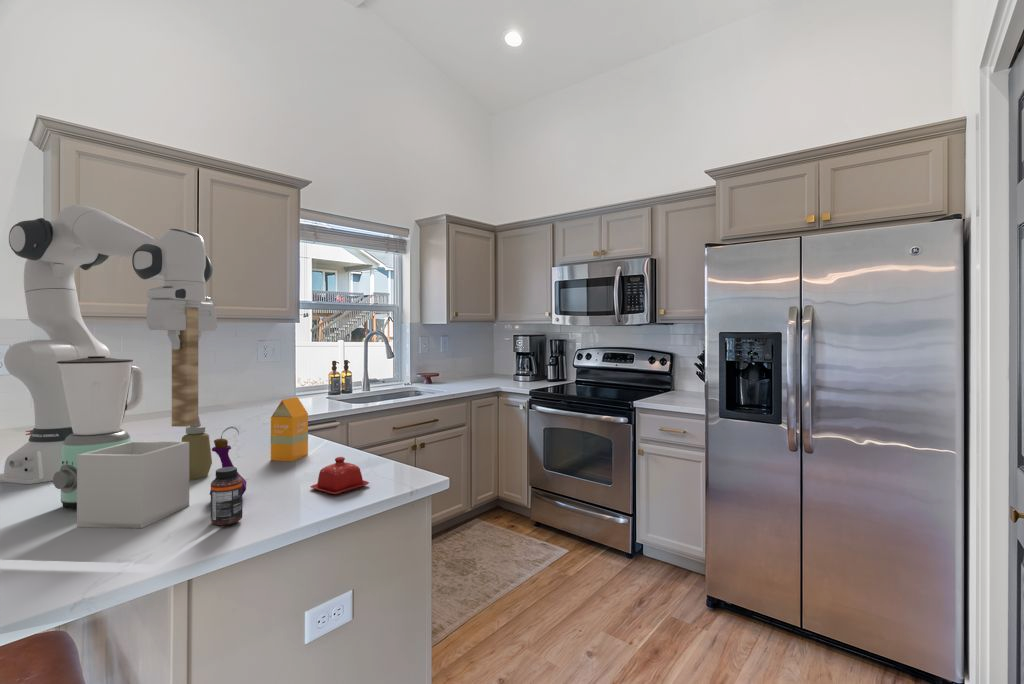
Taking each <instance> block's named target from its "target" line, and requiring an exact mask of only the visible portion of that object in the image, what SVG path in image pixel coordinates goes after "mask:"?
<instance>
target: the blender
mask: <svg viewBox="0 0 1024 684" xmlns="http://www.w3.org/2000/svg"><path fill="white" fill-rule="evenodd" d="M105 357H106V356H88V358H81V359H75V360H66V361H58V362H57V364H58V365H59V368H60V370H61V376H62V382H63V387H64V392H65V397H66V402H67V407H68V412H69V416H70V421H71V426H72V430H73V434H70V435H69V436H68V437H66V439H65V441H64V442H63V444H62V449H61V468H60V471H58V472H56V473H55V474H54V476H53V481H52V483H53V485H54V488H56V489H57V490H60V502H61V504H62V508H77V455H79V454H83V453H87V452H91V451H95V450H99V449H103V448H107V447H111V446H115V445H119V444H123V443H127V442H131V441H132V438H131V435H130V434H129V432H128V431H126V430H125V429H122V425H123V422H124V418H125V414H126V411H132V410H133V409H136V408H137V407H138V406H139V405H140V404H141V402H142V401H143V395H144V372H143V370H142V368H140V367H138V366H135V365H133V362H134V360H133V359H126V358H124V359H123V358H113V357H111V358H105ZM131 380H132V381H131ZM130 383H132V384H130ZM130 385H132V386H131V397H130V400H129V402H128V399H129V398H128V396H129V391H130Z"/></svg>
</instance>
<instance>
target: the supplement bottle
mask: <svg viewBox="0 0 1024 684" xmlns="http://www.w3.org/2000/svg"><path fill="white" fill-rule="evenodd" d="M237 472H238V468H237V467H235V466H234V467H223V468H222V467H220V468H218V469H216V470H215V478H214V479H213V480H212V481H211V482H210V490H211V495H210V523H211V524H212V525H214V526H229V525H232V524H236V523H237V522H239V521H241V520H242V518H243V495H242V479H241V478H240V477H238V475H237Z"/></svg>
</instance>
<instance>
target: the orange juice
mask: <svg viewBox="0 0 1024 684" xmlns="http://www.w3.org/2000/svg"><path fill="white" fill-rule="evenodd" d="M307 455H309V413H308V412H307V410H306V408H305V406H304V405H303V403H302V402H301V400H300V399H299V397H298V396H296V397H290V398H287V399H281V402H280V403H279V404H278V406H277V408H276V409H275V410H274V411H273V414H272V415H271V417H270V461H280V462H281V461H283V462H294V461H295V460H296V461H297V460H298V459H300V458H302V457H305V456H307Z"/></svg>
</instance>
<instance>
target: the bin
mask: <svg viewBox="0 0 1024 684" xmlns="http://www.w3.org/2000/svg"><path fill="white" fill-rule="evenodd" d="M189 506H190V480H189V442H181V441H154V440H153V441H150V440H148V441H143V440H140V441H139V440H137V441H136V440H131V442H127V443H123V444H119V445H115V446H111V447H107V448H103V449H99V450H95V451H91V452H87V453H83V454H79V455H77V507H76V527H78V528H103V529H104V528H105V529H106V528H109V529H110V528H111V529H113V528H114V529H143V528H145V527H147V526H149V525H152V524H153V523H156V522H158V521H160V520H162V519H164V518H166V517H168V516H171V515H172V514H173V515H174V513H177V512H179V511H181V510H183V509H186V508H188V507H189Z"/></svg>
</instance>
